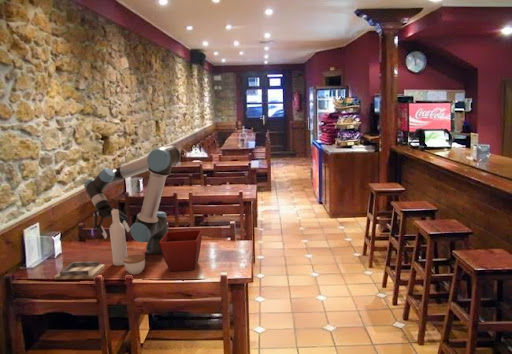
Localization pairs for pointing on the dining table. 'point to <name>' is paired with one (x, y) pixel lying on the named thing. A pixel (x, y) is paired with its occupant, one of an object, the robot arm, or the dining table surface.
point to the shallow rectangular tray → (80, 270)
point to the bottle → (117, 239)
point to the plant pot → (181, 249)
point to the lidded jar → (134, 263)
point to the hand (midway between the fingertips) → (117, 234)
